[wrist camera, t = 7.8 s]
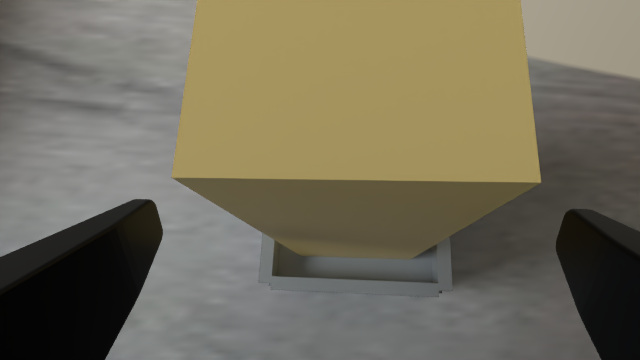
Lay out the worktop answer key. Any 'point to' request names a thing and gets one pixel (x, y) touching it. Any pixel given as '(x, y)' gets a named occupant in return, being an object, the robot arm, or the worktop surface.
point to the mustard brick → (358, 119)
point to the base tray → (357, 272)
